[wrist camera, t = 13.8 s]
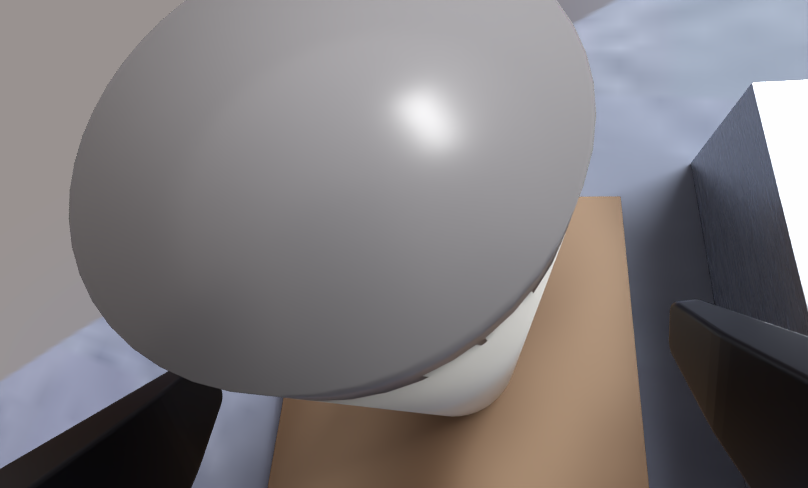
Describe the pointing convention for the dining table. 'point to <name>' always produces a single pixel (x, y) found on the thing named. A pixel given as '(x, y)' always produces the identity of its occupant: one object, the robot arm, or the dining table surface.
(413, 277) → the dome-capped cylinder
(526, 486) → the pad
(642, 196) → the dining table surface
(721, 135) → the collar
